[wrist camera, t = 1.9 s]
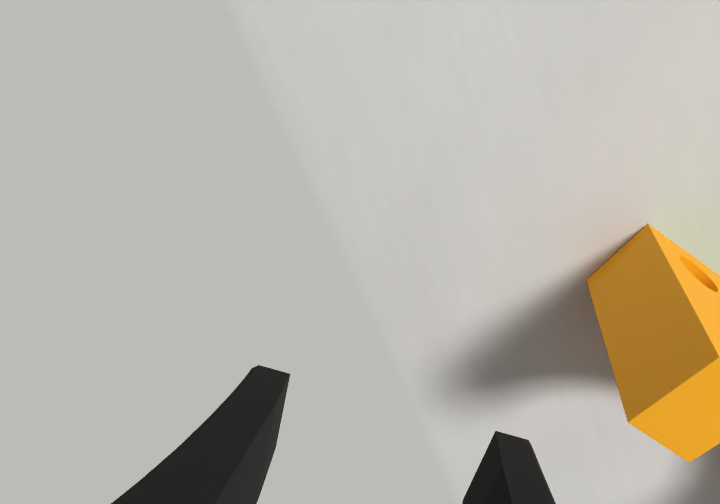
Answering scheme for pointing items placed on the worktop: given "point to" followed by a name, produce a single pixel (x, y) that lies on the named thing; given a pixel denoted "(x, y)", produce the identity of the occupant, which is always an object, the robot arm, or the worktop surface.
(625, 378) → the notched yellow bracket
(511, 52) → the worktop surface
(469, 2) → the worktop surface
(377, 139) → the worktop surface
